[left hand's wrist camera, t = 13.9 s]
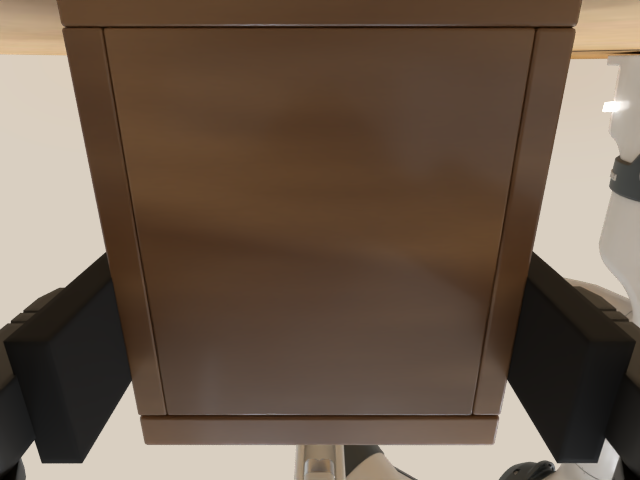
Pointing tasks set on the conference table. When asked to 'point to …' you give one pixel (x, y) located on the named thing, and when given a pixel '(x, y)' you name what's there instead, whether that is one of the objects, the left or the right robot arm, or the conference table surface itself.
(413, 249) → the chest
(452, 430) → the lid
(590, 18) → the conference table surface
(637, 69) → the right robot arm
